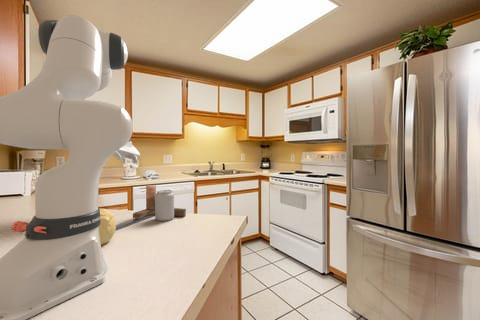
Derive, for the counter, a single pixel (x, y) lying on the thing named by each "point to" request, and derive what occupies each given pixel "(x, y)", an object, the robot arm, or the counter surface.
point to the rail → (132, 222)
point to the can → (164, 205)
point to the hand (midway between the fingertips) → (129, 160)
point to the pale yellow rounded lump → (106, 226)
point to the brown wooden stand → (151, 205)
